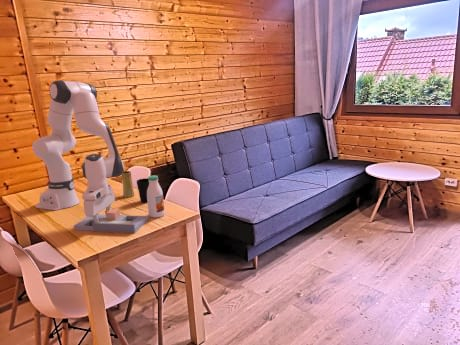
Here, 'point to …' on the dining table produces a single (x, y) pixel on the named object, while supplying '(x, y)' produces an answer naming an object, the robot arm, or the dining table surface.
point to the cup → (143, 189)
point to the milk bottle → (155, 198)
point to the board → (112, 224)
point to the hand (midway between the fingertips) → (102, 218)
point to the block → (113, 214)
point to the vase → (127, 184)
